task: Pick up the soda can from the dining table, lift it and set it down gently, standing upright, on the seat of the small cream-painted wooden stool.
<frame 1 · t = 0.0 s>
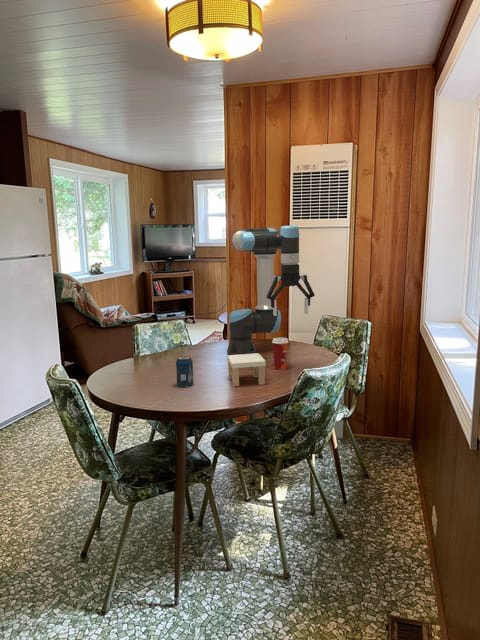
hand: (290, 314, 201), 28 cm above the table, tool pointing down, fingers open, 13 cm apart
soda can: (185, 385, 201), on the table
paper cup: (280, 368, 222), on the table
stool: (246, 380, 204), on the table
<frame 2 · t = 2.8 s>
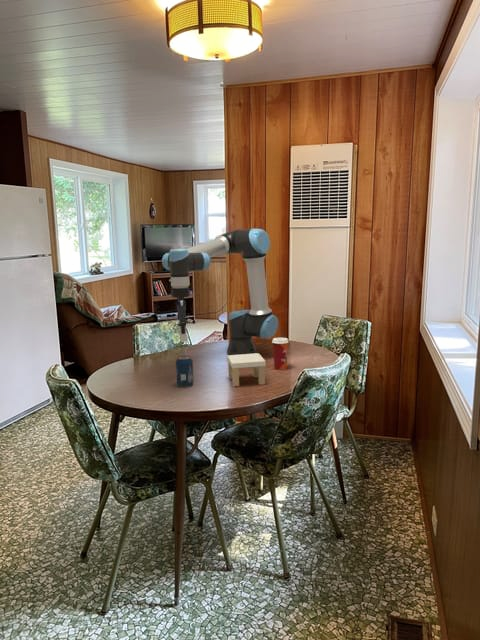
hand: (182, 338, 198), 20 cm above the table, tool pointing down, fingers open, 13 cm apart
nothing on the table moved.
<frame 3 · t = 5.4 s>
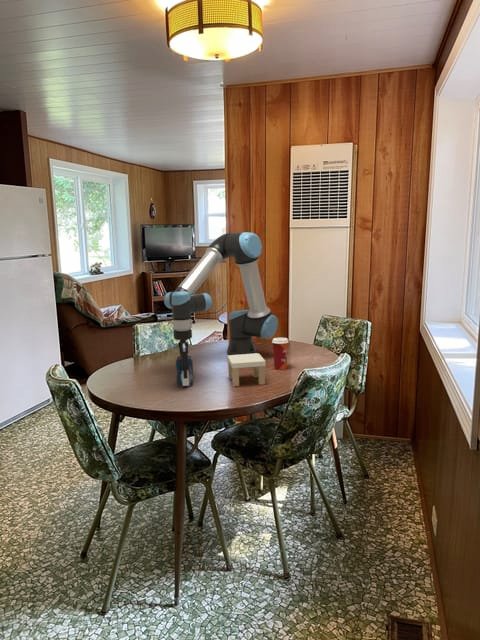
hand: (185, 382, 201), 1 cm above the table, tool pointing down, fingers closed on soda can, 7 cm apart
soda can: (185, 385, 201), on the table, touching gripper
everything else where it was.
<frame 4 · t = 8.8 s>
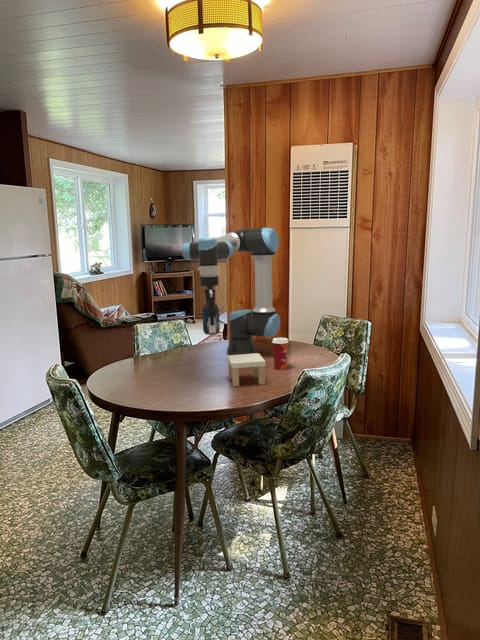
hand: (211, 330, 199), 23 cm above the table, tool pointing down, fingers closed on soda can, 7 cm apart
soda can: (211, 333, 199), point 21 cm above the table, touching gripper
everything else where it was.
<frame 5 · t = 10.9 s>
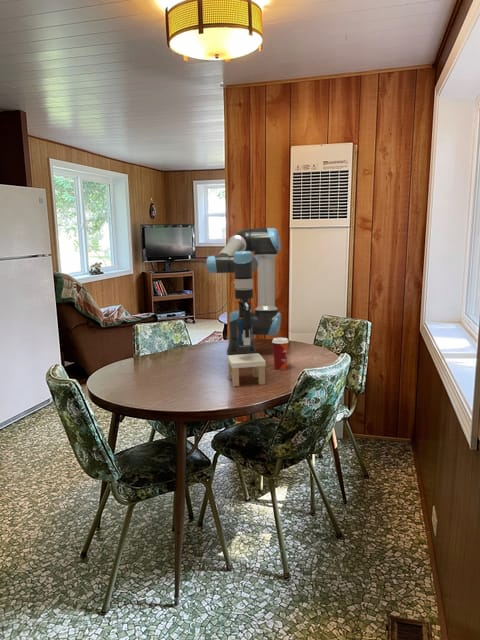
hand: (245, 343, 201), 17 cm above the table, tool pointing down, fingers closed on soda can, 7 cm apart
soda can: (245, 345, 202), point 15 cm above the table, touching gripper
everything else where it was.
when the fingers open (12 cm above the table, at t = 12.4 s): soda can drops 1 cm, resting on stool.
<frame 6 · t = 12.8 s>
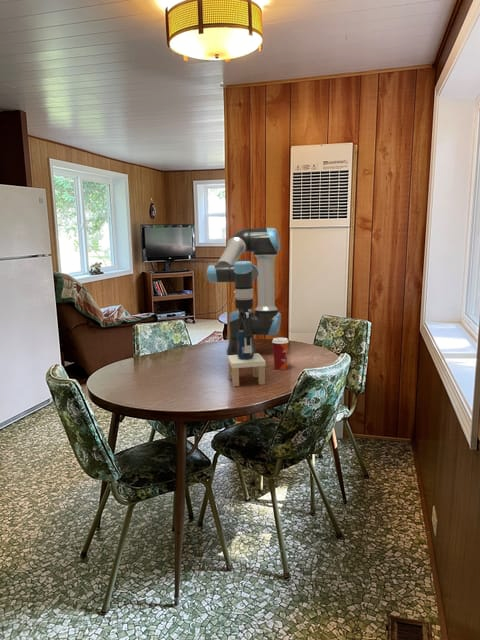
hand: (245, 349, 202), 14 cm above the table, tool pointing down, fingers open, 12 cm apart
soda can: (245, 358, 203), point 10 cm above the table, touching stool
everything else where it was.
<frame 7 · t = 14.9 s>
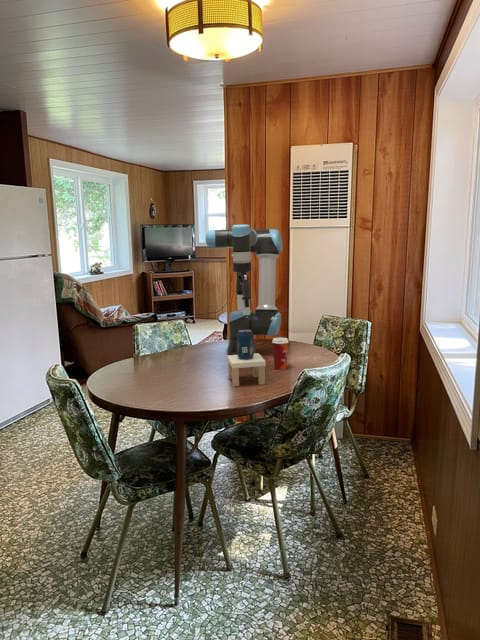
hand: (243, 312, 204), 29 cm above the table, tool pointing down, fingers open, 13 cm apart
nothing on the table moved.
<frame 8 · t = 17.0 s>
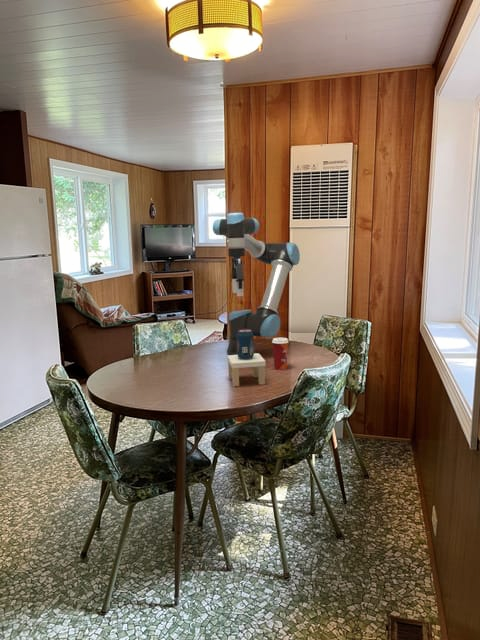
hand: (237, 294, 220), 35 cm above the table, tool pointing down, fingers open, 13 cm apart
nothing on the table moved.
at the end: soda can inside the target area on the stool (0.1 cm from its centre), point 9.8 cm above the stool's base; soda can tilted 0°; the gripper is holding nothing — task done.
